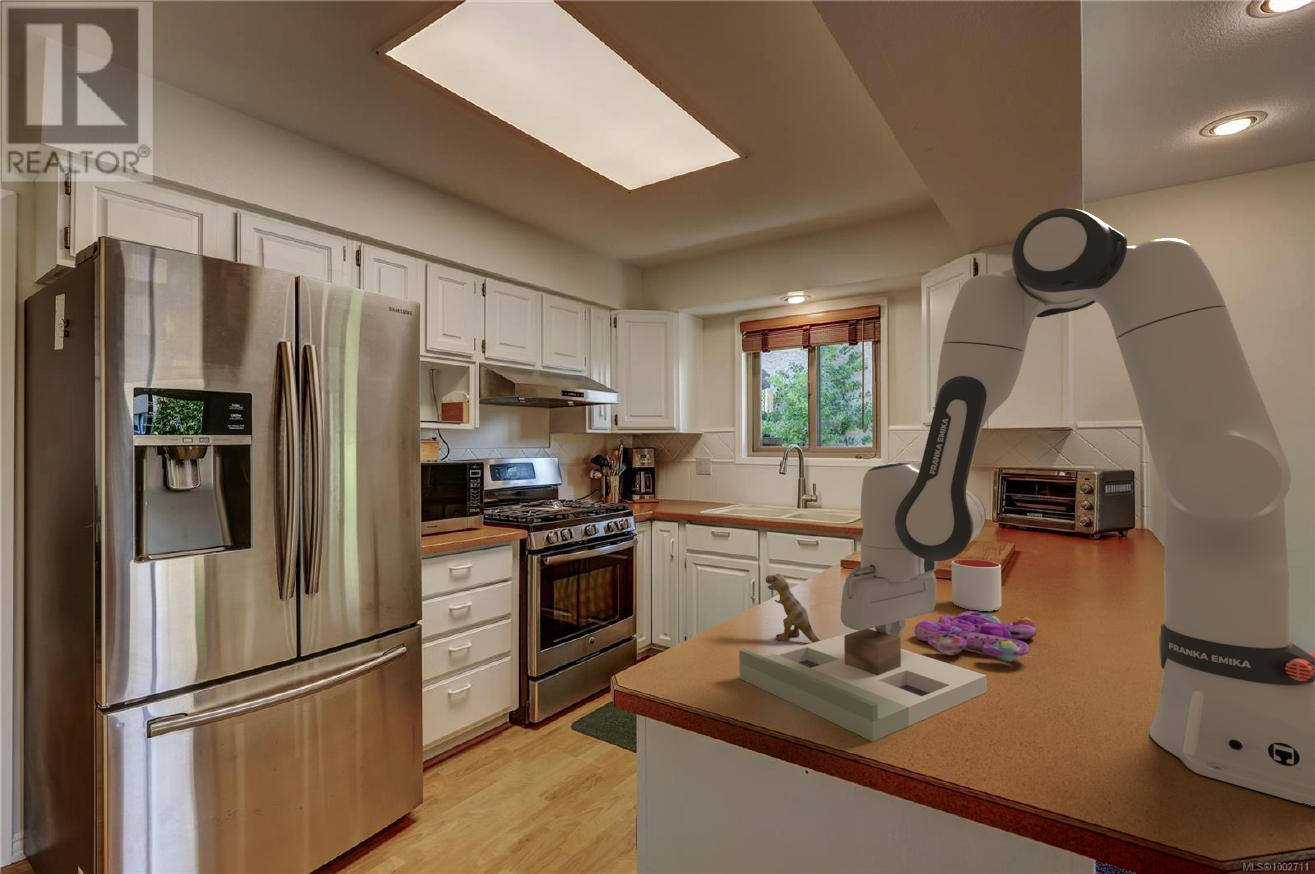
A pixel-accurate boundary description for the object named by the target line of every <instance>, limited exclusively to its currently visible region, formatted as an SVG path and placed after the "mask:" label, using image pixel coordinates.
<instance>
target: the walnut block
mask: <svg viewBox="0 0 1315 874" xmlns="http://www.w3.org/2000/svg"><path fill="white" fill-rule="evenodd" d="M850 633H851V634H848V633H846V634H847V635H844V634H843V635H844V649H845V664H846V665H849V666H852V667H855V668H858V669H861V670H864V671H867V672H870V673H873V674H875V675H881V674H883V673H886V672H888V671H891V670H894V669H896V668H899V667H901V649H902V647H901V644H902V641H901V636H900V637H896V636H892V635H889V634H885V633H881V632H878V631H876V630H874V629H872V628H869V629H866V630H862V631H859V630H856V631H854V632H850Z"/></svg>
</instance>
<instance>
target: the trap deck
mask: <svg viewBox="0 0 1315 874" xmlns="http://www.w3.org/2000/svg"><path fill="white" fill-rule="evenodd" d="M851 633H852V632H849V633H848V632H847V633H845V634H840V635H837V636H833V637H830V638H825V639H822V640H821V641H818V642H814V643H813V642H811V643H807V644H803V645H801V646H796V647H793V648H789V649H785V650H781V651H778V652H774V653H771V654H766V655H760V654H758V653H756V652H753V651H750V650H749V649H748V650H747V649H746V648H743V649H739V653H738V654H739V655H738V656H739V666H738V667H739V669H738V670H739V679H740V680H743V681H745V682H746V683H748V684H750V683H751V685H752V686H755V687H757V688H759V689H761V690H763V691H765V692H767V693H769V694H771V693H772V695H774V696H775V697H778V698H780V699H783V700H784V701H786V702H789V703H790V704H793V705H795V706H797V707H799V708H801V709H803V710H806V711H808V713H811V714H814V715H815V716H818V717H820V718H822V719H824V720H827V721H828V722H830V723H832V724H834V725H837V726H839V727H841V728H843V729H845V730H848V731H850V732H852V733H853V734H856V735H858V736H861V737H862V738H864V739H867V740H868V741H870V742H875V741H878V740H881V739H883V738H884V737H887V736H889V735H892V734H894V733H897V732H898V731H901V730H903V729H905V728H909V727H910V726H912V725H914V724H918V723H919V722H921V721H923V720H926V719H929V718H931V717H933V716H936V715H938V714H941V713H942V712H944V711H947V710H949V709H951V708H954V707H955V706H958V705H961V704H963V703H965V702H967V701H970V700H973V699H974V698H977V697H979V696H981V695H984V694H986V693H987V692H988V690H987V689H988V683H987V680H988V679H987V676H988V675H986V674H984V673H981V672H977V671H974V670H970V669H967V668H965V667H964V668H963V667H961V666H957V665H954V664H951V663H949V662H944V661H941V660H938V659H935V658H932V657H928V656H926V655H923V654H920V653H919V654H918V653H915V652H913V651H909V650H906V649H903V648H901V667H899V668H896V669H894V670H891V671H888V672H886V673H883V674H881V675H875V674H873V673H870V672H867V671H864V670H861V669H858V668H855V667H852V666H849V665H846V664H845V649H844V635H847V634H851Z"/></svg>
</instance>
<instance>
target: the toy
mask: <svg viewBox="0 0 1315 874" xmlns="http://www.w3.org/2000/svg"><path fill="white" fill-rule="evenodd" d="M765 583H767V584H768V585H767V589H768V590H770V591H772V590H773V591H776V592H777V593H778V595H779V600H777V599H775V600H774V602H776V603H777V604H780V605H782V606H783V609H784V613H785V615H786V617H785V618H784V619H783V621H782V622H783V626H784V628H783V633H778V634H775V637H776V639H775V640H776V641H785V640H788V641H789V640H790V637H796V636H799V637H800V635H801V634H800V632H801V633H802V634H803V635H804V636H805V637H806V638H807V639H808V640H809V642H810V641H811V643H814V642H818V641H822V640H821V639H819V638H818V637H817V635H816V633H815V632H814V629H813V628H812V625H811V623H810V619H809V615H808V611H807V610H806V608H805V607H804V606H803V605H802V604H801V602H800V601H799V600H798V599H797V598H796V597H795V595H794V594H793V593H792V591H791V588H790V585H789V583H788V581H787V580H786V578H785V576H784V575H783V574H780V573H776V574H774V575H773V574H769V575H767V576H766V577H765ZM792 626H793V629H792Z"/></svg>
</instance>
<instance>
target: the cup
mask: <svg viewBox="0 0 1315 874" xmlns="http://www.w3.org/2000/svg"><path fill="white" fill-rule="evenodd" d="M951 601H952V602H953V604H954V605H955V606H956V605H957V607H958V606H959V607H958V608H960V607H962V608H961V609H963V608H965V609H964V610H967V609H969V610H968V611H972V610H979V611H978V612H982V611H988V612H994V611H993V610H995V611H997V610H999V609H1000V608H1001V607H1002V565H1001V564H1000V563H997V562H993V561H990V560H981V559H967V558H963V559H954V560H952V561H951Z"/></svg>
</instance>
